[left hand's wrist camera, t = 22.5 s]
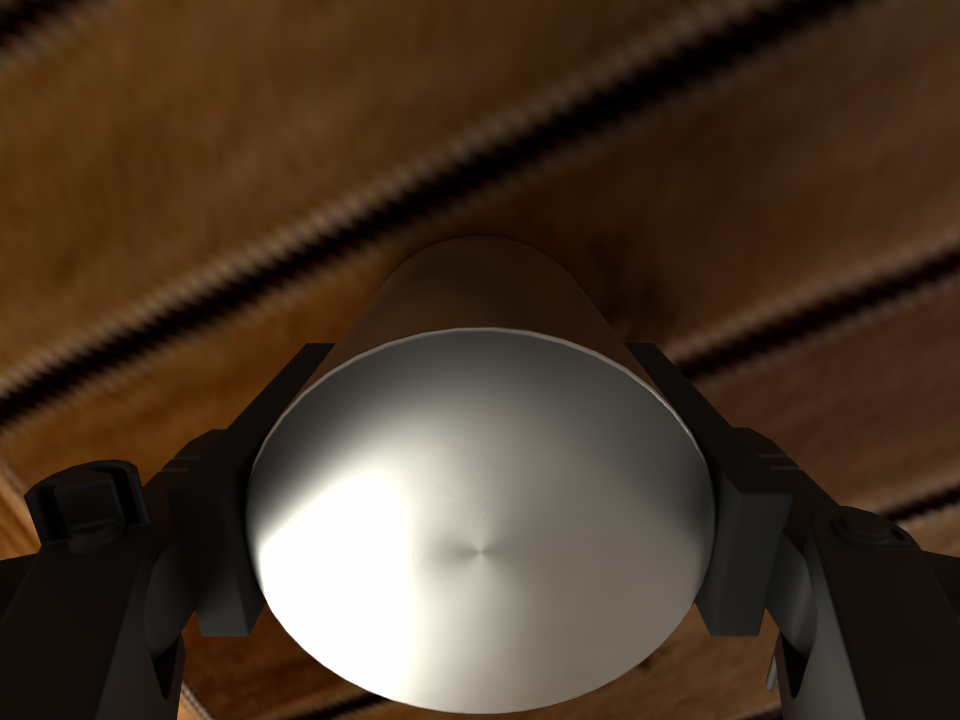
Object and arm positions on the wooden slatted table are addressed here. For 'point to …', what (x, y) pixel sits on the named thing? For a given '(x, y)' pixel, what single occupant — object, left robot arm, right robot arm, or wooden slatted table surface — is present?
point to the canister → (480, 492)
